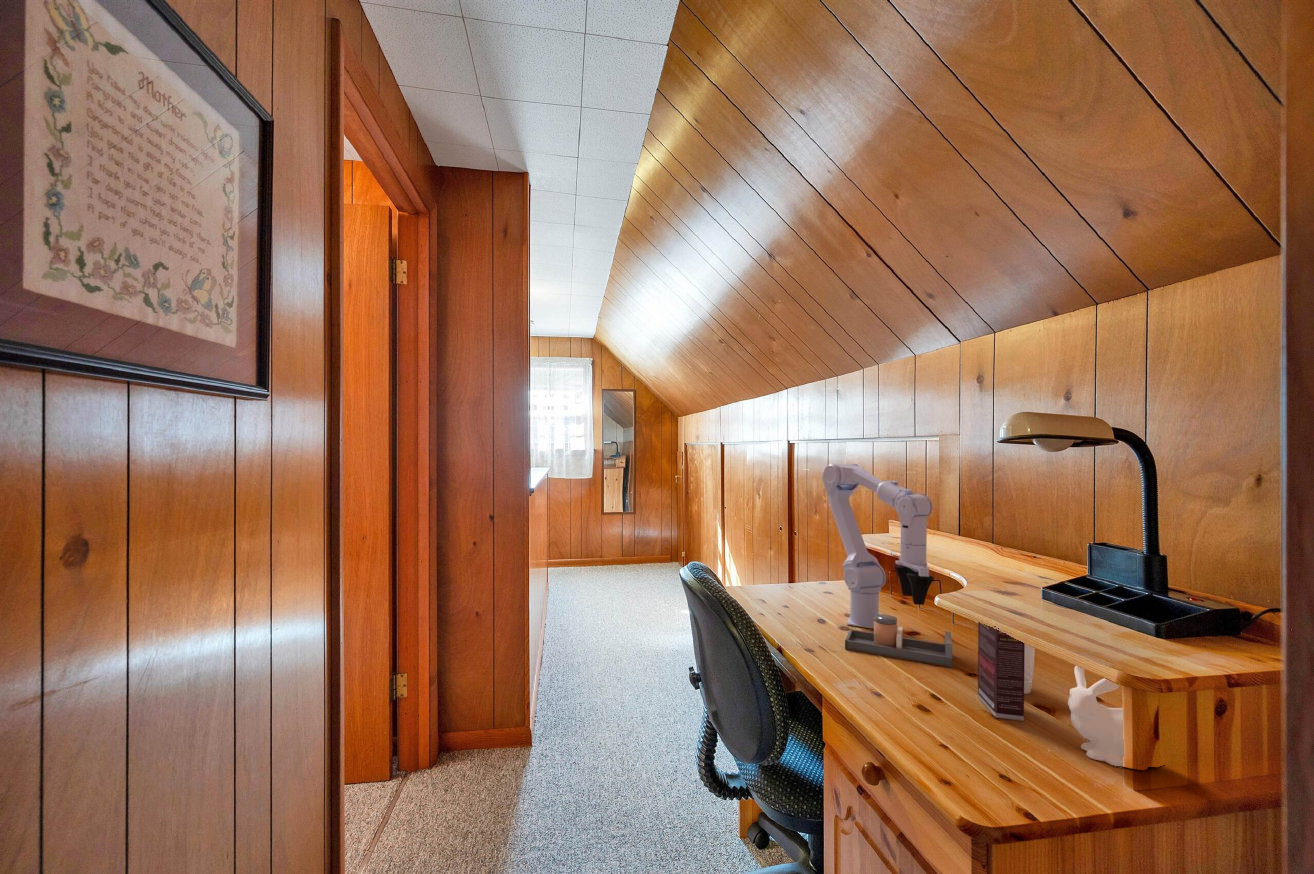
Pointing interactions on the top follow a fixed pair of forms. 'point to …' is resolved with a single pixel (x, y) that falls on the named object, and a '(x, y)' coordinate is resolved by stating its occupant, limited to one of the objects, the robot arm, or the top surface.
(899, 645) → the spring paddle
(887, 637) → the jar
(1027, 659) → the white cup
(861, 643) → the tray
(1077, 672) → the rabbit
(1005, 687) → the supplement box
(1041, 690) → the top surface
